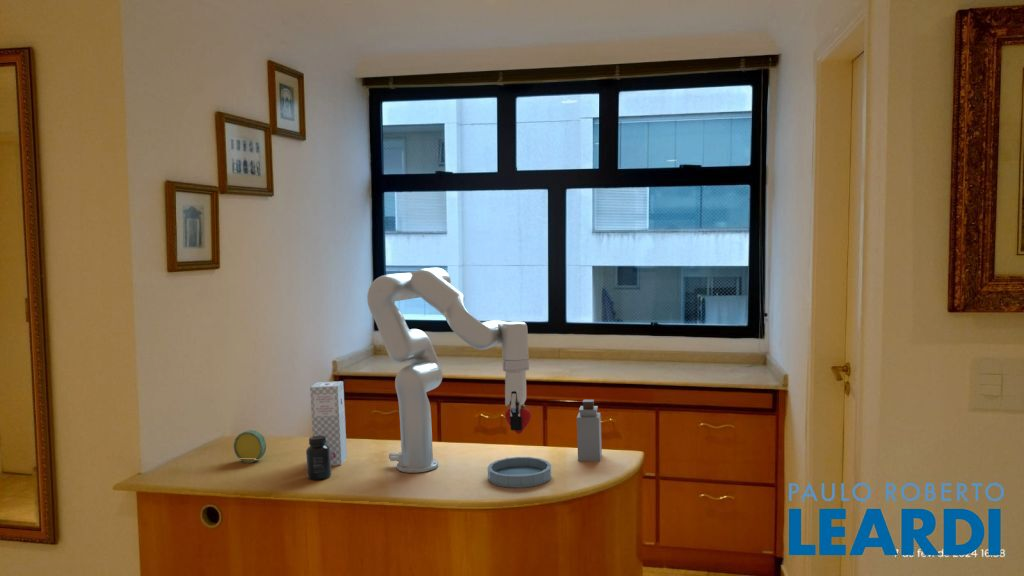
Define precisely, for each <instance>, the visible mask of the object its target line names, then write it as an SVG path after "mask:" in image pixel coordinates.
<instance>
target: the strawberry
mask: <svg viewBox="0 0 1024 576" xmlns="http://www.w3.org/2000/svg"><path fill="white" fill-rule="evenodd" d="M518 405H519V404H518ZM524 405H525V404H524ZM524 405H522V406H521V416H522V430H513V431H514V432H515V433H516V434H519V435H520V434H522V432H523V431H524V430H525V428H526V427H527V426H528V424H529V423H530V421H531V416H532V413H531V411H530V410H529V409H528V408H527V405H525V406H524ZM523 407H525V408H523ZM510 408H511V405H509V406H508V409H507V410H506V411H505V415H504V417H505V420H506V422H507V423H508V425H509V426H510V427H511V424H510ZM517 409H518V408H517Z"/></svg>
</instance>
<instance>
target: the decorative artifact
mask: <svg viewBox="0 0 1024 576" xmlns="http://www.w3.org/2000/svg"><path fill="white" fill-rule="evenodd" d="M233 451H234V454H235V456H236V457H237V458H238V459H239V458H256V459H258V460H260V459H261V458H263V456H264V455H265V453H266V451H267V442H266V440H265V437H264V435H263V434H262V433H260V432H259V431H257V430H251V429H249V430H246V431H244V432H241V433H239V434H238V435H237V437H236V438H235V439H234V442H233ZM239 460H240V461H242V463H243V462H244V463H246V464H249V463H250V464H251V463H254V462H256V461H257V460H254V459H239Z"/></svg>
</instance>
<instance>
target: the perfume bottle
mask: <svg viewBox="0 0 1024 576" xmlns="http://www.w3.org/2000/svg"><path fill="white" fill-rule="evenodd" d="M594 404H595V399H583V400H582V405H580V407H579V409H578V411H579V412H578V414H577V416H576V437H577V438H576V439H577V440H576V441H577V442H576V443H577V461H578V462H601V459H602V456H603V455H602V417H601V416H602V415H601V412H598V407H599V406H598V405H594Z"/></svg>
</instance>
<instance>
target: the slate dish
mask: <svg viewBox="0 0 1024 576" xmlns="http://www.w3.org/2000/svg"><path fill="white" fill-rule="evenodd" d="M487 477H488V482H489V483H491V484H492V485H494V486H497V487H501V488H510V489H526V488H533V487H539V486H541V485H544V484H546V483H548V482H549V481H550V480H551V479H552V464H551V463H550V462H549V461H548V460H545V459H543V458H538V457H533V456H532V457H531V456H514V457H506V458H502V459H501V458H500V459H498V460H495V461H493V462H490V463H489V465H488V466H487Z"/></svg>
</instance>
